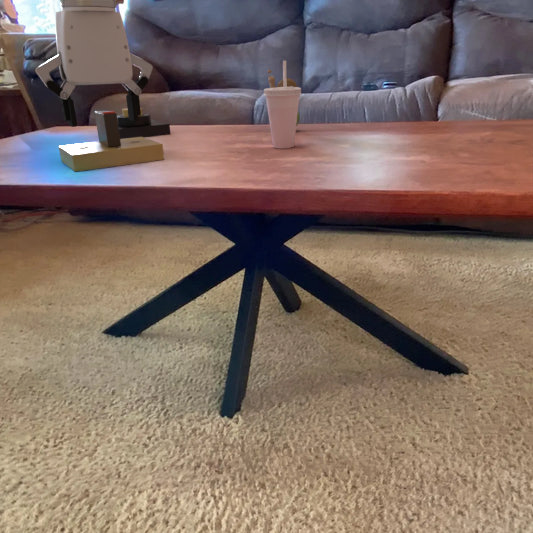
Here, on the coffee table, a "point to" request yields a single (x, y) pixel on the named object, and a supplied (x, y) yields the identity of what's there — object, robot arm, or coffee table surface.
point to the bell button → (125, 112)
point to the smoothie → (283, 112)
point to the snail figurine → (289, 84)
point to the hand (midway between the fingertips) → (104, 123)
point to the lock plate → (110, 154)
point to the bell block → (141, 127)
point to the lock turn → (107, 128)
